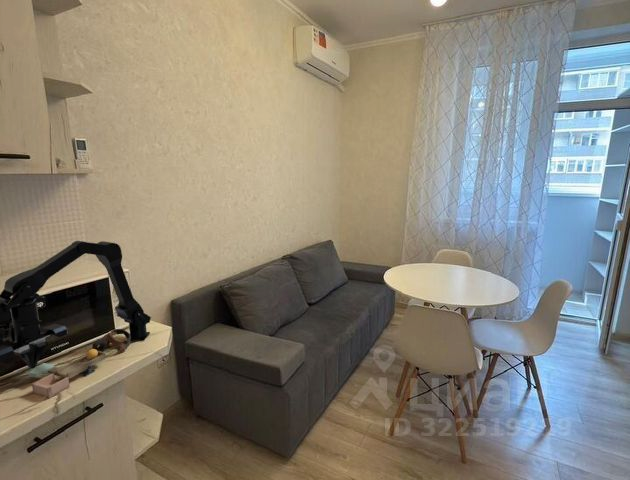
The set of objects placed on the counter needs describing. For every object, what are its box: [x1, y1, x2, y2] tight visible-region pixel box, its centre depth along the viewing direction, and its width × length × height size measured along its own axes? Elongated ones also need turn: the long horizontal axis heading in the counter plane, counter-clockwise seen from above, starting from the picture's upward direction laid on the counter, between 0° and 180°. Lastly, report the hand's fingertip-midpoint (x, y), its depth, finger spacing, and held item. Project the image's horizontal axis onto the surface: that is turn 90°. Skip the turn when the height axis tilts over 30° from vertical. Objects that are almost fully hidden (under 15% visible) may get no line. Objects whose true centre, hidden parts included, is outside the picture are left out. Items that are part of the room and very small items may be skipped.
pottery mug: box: [91, 328, 131, 354], centre depth 114 cm, size 12×10×8 cm
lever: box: [25, 351, 107, 380], centre depth 101 cm, size 15×14×2 cm
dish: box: [31, 374, 71, 399], centre depth 92 cm, size 6×6×3 cm
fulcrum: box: [78, 367, 96, 377], centre depth 102 cm, size 3×5×2 cm, turn 72°
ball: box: [86, 348, 98, 359], centre depth 104 cm, size 3×3×3 cm
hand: (32, 368), depth 96 cm, fingers closed
